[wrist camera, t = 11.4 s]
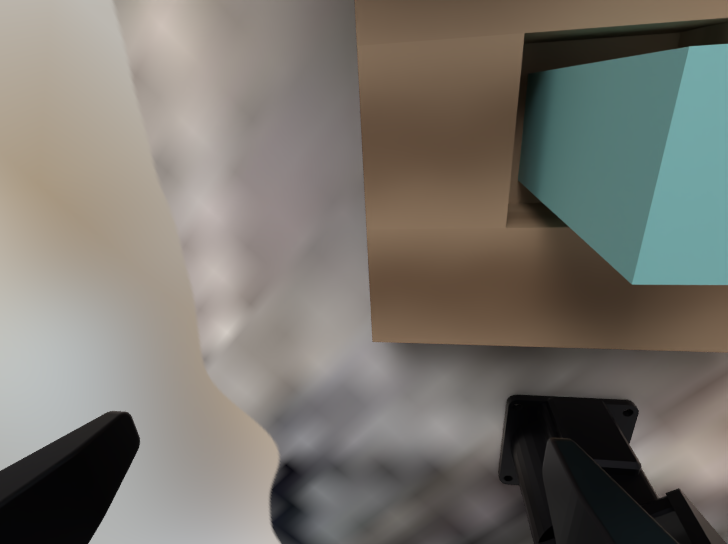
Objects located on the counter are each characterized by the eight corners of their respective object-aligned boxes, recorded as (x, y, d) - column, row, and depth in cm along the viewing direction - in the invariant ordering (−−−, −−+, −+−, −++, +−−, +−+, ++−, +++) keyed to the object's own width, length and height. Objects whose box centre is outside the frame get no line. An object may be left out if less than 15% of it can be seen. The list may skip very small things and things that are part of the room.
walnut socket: (728, 302, 18) (803, 354, 15) (381, 297, 20) (372, 341, 17) (901, -175, 12) (1116, -294, 8) (365, -105, 14) (345, -174, 10)
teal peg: (620, 176, 16) (876, 286, 7) (517, 180, 17) (632, 284, 8) (643, 66, 14) (1014, 22, 5) (528, 73, 15) (688, 46, 6)
